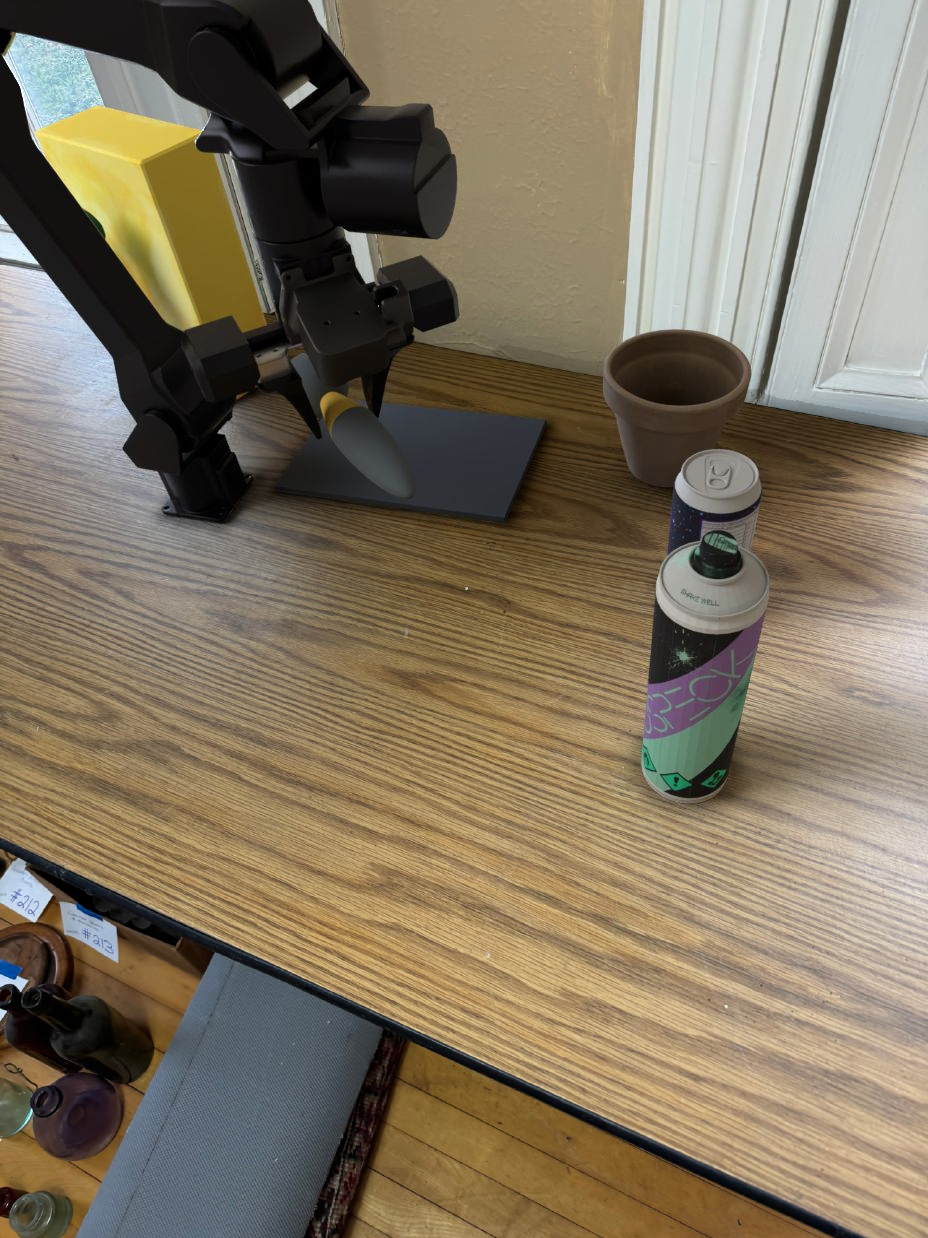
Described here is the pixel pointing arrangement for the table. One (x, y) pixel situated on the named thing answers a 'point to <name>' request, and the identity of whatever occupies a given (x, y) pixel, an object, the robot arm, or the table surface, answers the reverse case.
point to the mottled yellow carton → (158, 212)
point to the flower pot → (672, 397)
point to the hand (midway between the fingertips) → (346, 426)
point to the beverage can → (715, 498)
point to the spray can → (701, 664)
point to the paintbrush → (357, 433)
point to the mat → (429, 462)
